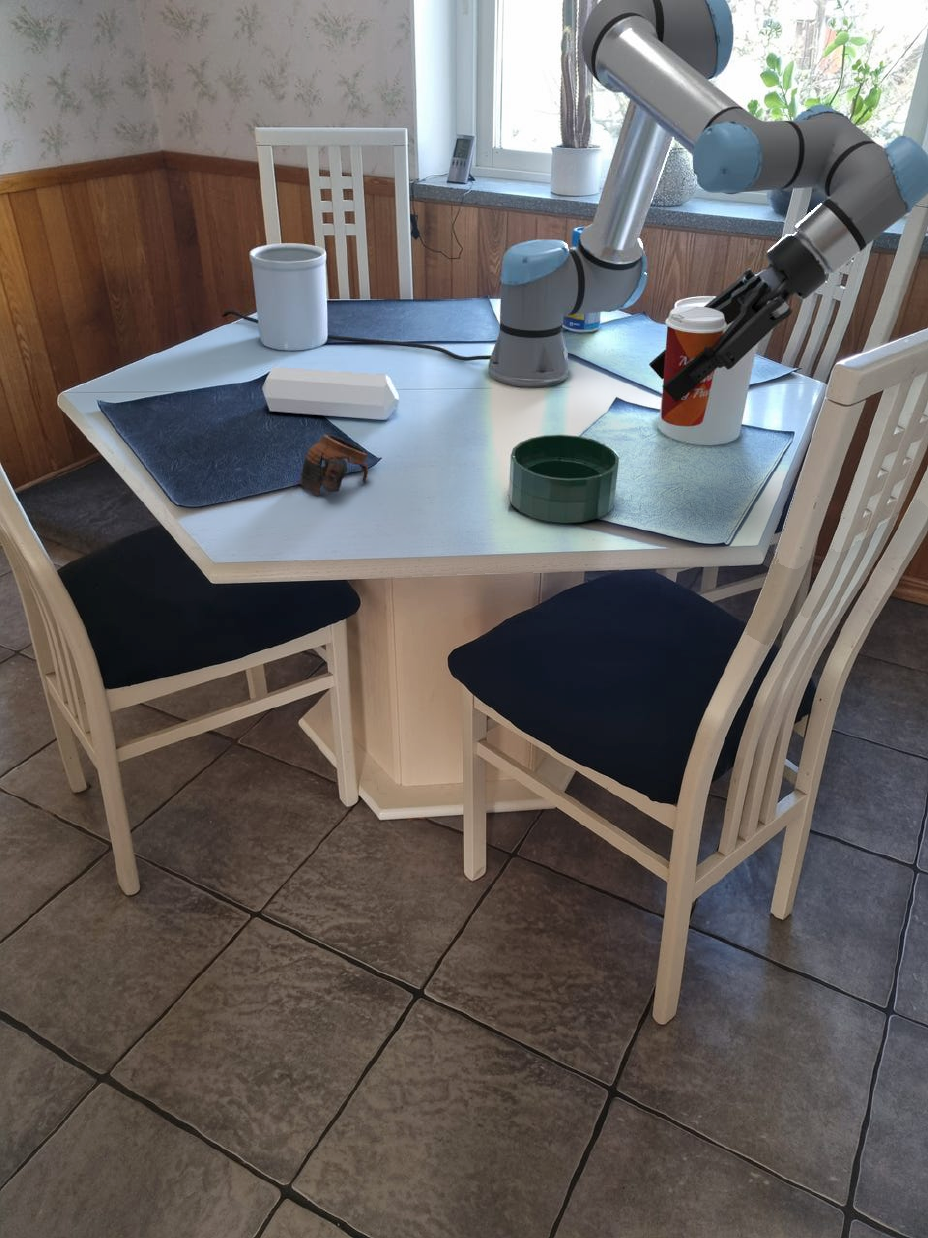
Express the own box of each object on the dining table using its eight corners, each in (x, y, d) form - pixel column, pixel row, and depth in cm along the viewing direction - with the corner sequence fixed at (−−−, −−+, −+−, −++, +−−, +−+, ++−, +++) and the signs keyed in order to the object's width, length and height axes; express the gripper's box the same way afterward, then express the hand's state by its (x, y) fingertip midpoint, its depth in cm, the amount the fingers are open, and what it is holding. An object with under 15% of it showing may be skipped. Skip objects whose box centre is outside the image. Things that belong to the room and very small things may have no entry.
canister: (688, 450, 150) (708, 325, 139) (642, 419, 160) (658, 301, 149) (756, 437, 154) (781, 315, 143) (708, 408, 165) (727, 292, 153)
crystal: (405, 382, 162) (272, 373, 165) (397, 374, 155) (258, 364, 158) (402, 425, 163) (269, 415, 166) (393, 419, 156) (255, 409, 159)
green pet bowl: (491, 510, 132) (493, 464, 128) (534, 470, 143) (537, 427, 139) (591, 535, 126) (595, 488, 122) (628, 492, 137) (633, 447, 133)
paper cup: (677, 433, 121) (692, 325, 114) (641, 413, 127) (654, 309, 119) (724, 423, 124) (742, 317, 117) (687, 404, 130) (702, 301, 122)
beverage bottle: (602, 334, 199) (612, 234, 188) (562, 333, 199) (570, 233, 188) (598, 321, 206) (607, 225, 195) (560, 321, 206) (567, 224, 195)
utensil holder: (346, 337, 195) (341, 249, 185) (298, 357, 184) (291, 264, 174) (292, 325, 201) (284, 239, 191) (243, 343, 191) (232, 253, 181)
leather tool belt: (293, 477, 141) (314, 426, 139) (351, 500, 144) (372, 451, 142) (297, 493, 130) (319, 437, 128) (360, 518, 133) (382, 464, 131)
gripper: (858, 300, 107) (698, 432, 116) (798, 256, 124) (662, 375, 133) (823, 251, 104) (661, 391, 113) (767, 214, 121) (629, 338, 130)
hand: (662, 382), depth 123 cm, fingers closed on paper cup, 8 cm apart
